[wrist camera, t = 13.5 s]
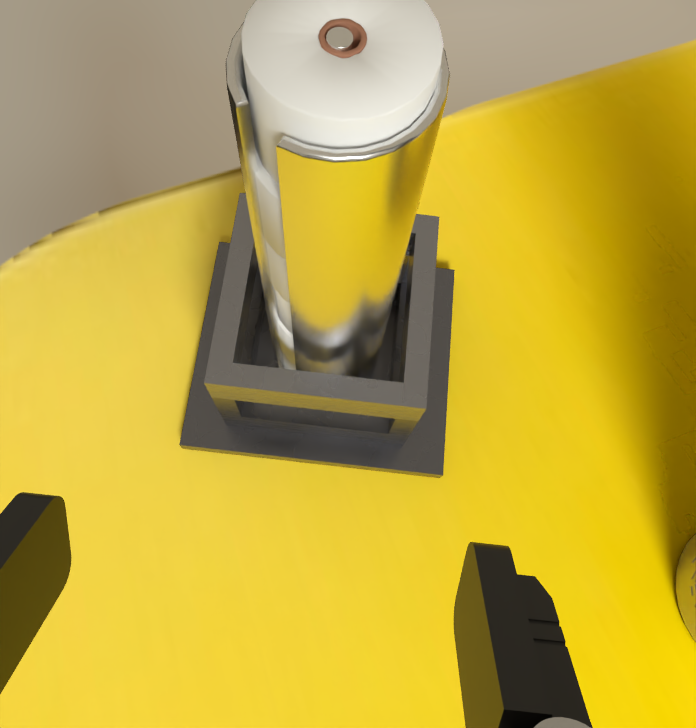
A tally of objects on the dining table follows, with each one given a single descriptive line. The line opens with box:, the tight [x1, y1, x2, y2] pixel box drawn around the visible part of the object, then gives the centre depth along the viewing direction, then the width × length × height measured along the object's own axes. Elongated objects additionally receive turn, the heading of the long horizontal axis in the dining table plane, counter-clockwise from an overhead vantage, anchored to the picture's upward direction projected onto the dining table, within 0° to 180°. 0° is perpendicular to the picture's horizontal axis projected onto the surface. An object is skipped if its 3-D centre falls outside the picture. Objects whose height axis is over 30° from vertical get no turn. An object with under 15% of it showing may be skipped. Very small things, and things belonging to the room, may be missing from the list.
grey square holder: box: [180, 193, 454, 478], centre depth 38 cm, size 16×14×10 cm
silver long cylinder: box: [226, 0, 450, 379], centre depth 29 cm, size 6×6×25 cm
